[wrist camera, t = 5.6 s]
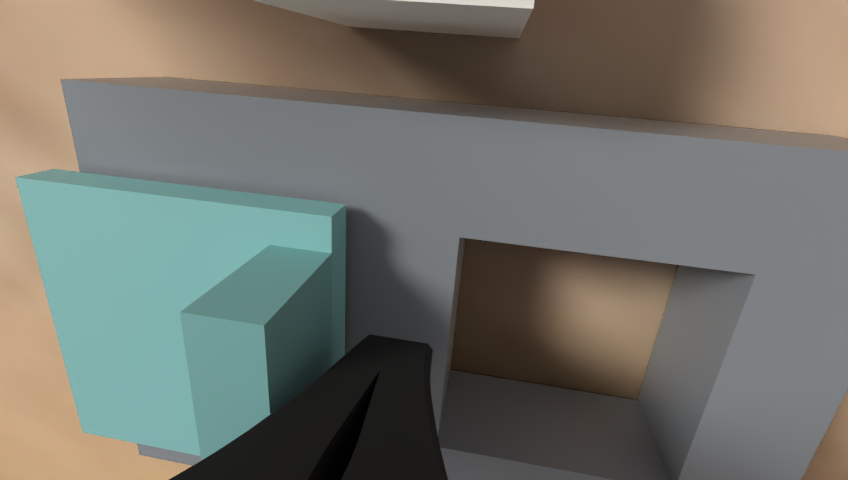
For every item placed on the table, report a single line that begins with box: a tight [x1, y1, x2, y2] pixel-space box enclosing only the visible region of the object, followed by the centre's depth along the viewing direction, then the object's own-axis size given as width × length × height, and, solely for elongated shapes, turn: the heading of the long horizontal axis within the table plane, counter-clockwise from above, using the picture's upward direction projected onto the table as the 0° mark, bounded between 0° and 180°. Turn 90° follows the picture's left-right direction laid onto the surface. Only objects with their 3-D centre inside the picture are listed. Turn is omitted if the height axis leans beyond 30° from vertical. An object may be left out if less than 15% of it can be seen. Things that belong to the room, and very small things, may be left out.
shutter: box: [15, 169, 346, 460], centre depth 9 cm, size 6×6×3 cm
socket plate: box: [61, 77, 848, 480], centre depth 11 cm, size 10×16×3 cm, turn 86°
